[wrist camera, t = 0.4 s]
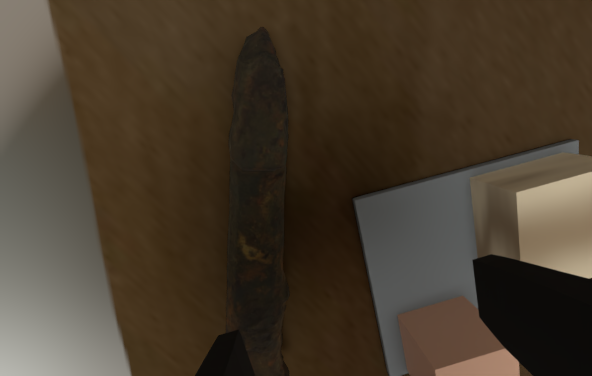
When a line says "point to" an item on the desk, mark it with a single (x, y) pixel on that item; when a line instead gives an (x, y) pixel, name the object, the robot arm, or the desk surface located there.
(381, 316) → the rubber mat
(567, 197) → the beech block
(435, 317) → the terracotta cube
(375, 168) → the desk surface
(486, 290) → the robot arm
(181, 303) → the desk surface
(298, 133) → the desk surface
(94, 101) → the desk surface
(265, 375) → the hand tool
